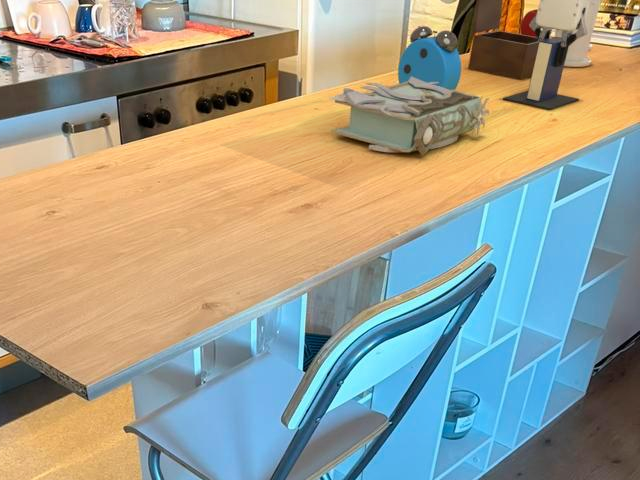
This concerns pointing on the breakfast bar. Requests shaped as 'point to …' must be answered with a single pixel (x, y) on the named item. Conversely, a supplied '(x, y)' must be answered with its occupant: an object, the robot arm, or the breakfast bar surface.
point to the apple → (526, 21)
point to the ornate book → (410, 116)
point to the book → (545, 71)
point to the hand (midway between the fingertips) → (549, 63)
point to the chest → (504, 54)
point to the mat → (546, 104)
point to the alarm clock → (431, 58)
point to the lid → (487, 15)
